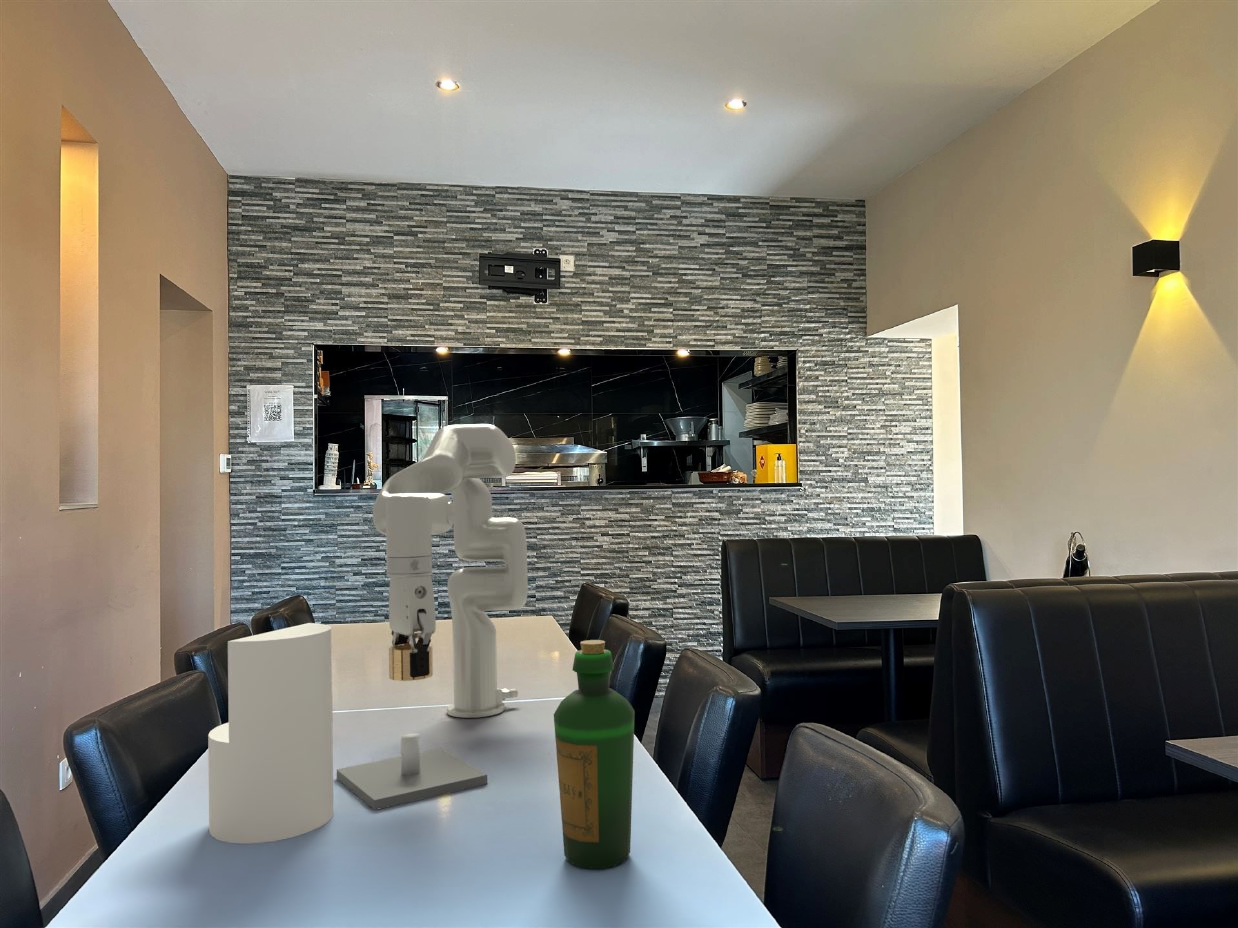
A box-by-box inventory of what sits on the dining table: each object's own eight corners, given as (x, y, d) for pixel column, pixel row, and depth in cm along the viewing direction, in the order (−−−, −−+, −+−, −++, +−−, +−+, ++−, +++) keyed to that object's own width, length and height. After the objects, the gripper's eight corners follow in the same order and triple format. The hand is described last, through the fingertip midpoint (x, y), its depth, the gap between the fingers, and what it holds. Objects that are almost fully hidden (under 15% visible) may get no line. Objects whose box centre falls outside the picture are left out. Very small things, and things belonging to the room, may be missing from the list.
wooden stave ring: (422, 670, 153) (422, 641, 153) (438, 676, 147) (438, 646, 147) (383, 675, 149) (383, 646, 149) (398, 682, 143) (398, 651, 143)
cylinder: (357, 805, 136) (354, 624, 137) (280, 849, 120) (277, 643, 121) (267, 795, 142) (264, 621, 143) (181, 835, 125) (179, 639, 126)
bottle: (556, 843, 119) (551, 636, 120) (633, 838, 120) (629, 634, 121) (557, 877, 109) (552, 650, 110) (642, 872, 110) (637, 647, 111)
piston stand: (441, 756, 160) (440, 715, 161) (487, 783, 145) (486, 737, 145) (336, 778, 149) (336, 733, 150) (374, 809, 134) (373, 760, 134)
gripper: (451, 568, 144) (453, 677, 143) (411, 563, 158) (412, 662, 157) (407, 571, 139) (408, 684, 139) (370, 565, 154) (371, 667, 153)
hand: (411, 671), depth 148 cm, fingers closed on wooden stave ring, 7 cm apart
